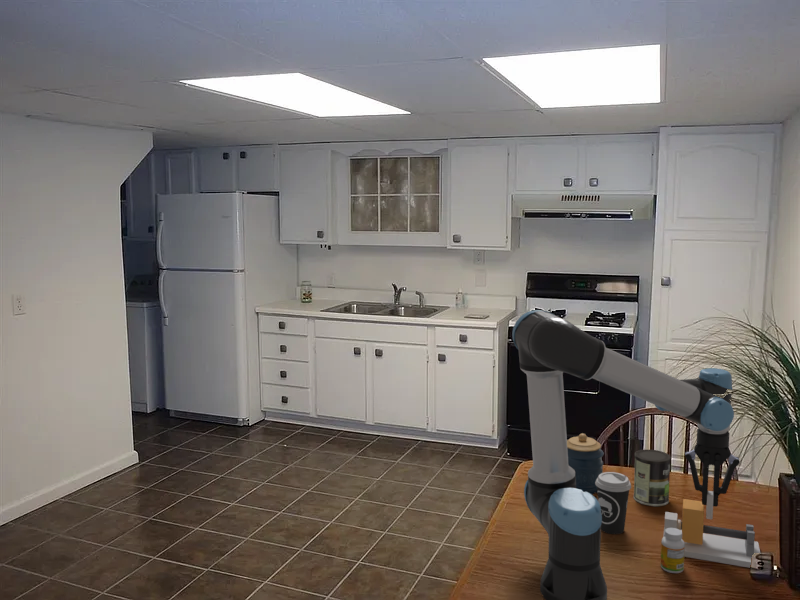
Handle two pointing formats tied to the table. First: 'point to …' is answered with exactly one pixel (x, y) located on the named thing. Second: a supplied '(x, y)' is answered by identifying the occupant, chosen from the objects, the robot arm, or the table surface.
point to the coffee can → (652, 477)
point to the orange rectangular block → (692, 521)
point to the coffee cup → (613, 501)
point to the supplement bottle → (672, 551)
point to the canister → (585, 461)
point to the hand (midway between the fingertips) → (709, 516)
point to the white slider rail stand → (719, 543)
